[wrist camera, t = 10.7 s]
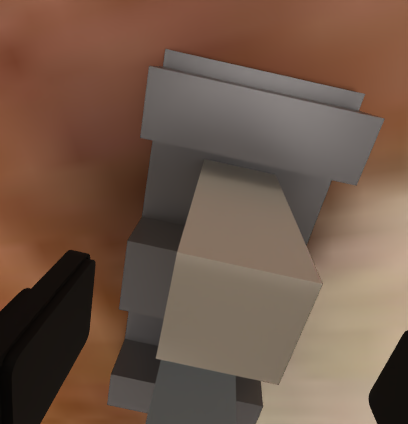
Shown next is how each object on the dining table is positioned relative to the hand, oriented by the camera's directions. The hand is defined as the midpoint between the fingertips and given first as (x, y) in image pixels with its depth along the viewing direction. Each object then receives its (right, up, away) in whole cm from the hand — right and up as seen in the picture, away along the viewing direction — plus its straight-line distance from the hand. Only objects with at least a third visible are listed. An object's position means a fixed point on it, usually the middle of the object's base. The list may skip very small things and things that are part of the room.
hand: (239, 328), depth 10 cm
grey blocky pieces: (0, 0, +12) cm, 12 cm away
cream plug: (+1, +4, +9) cm, 10 cm away
